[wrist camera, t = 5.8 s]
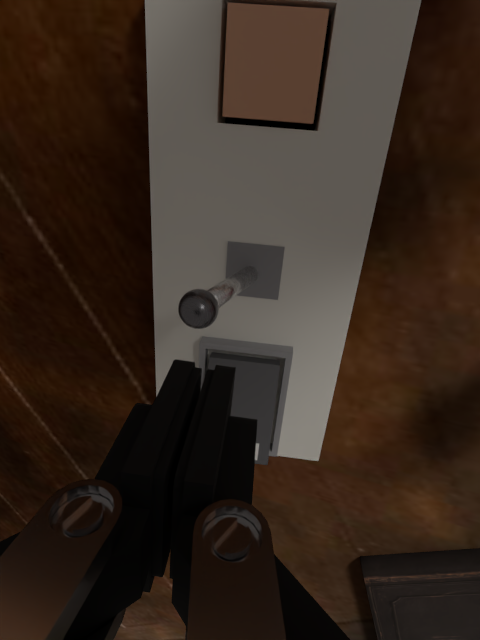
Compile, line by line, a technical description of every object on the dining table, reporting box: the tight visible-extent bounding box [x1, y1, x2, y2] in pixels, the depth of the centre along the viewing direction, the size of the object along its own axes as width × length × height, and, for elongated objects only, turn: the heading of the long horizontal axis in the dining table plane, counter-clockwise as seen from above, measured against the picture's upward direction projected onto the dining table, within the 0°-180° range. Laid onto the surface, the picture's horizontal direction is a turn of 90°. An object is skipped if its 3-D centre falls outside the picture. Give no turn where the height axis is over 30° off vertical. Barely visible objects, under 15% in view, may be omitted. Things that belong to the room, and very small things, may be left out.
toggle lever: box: [178, 266, 259, 329], centre depth 20 cm, size 2×2×7 cm
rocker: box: [208, 352, 280, 465], centre depth 25 cm, size 7×4×1 cm, turn 175°
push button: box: [222, 3, 329, 124], centre depth 19 cm, size 4×4×3 cm
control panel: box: [145, 0, 421, 461], centre depth 24 cm, size 28×12×4 cm, turn 176°
